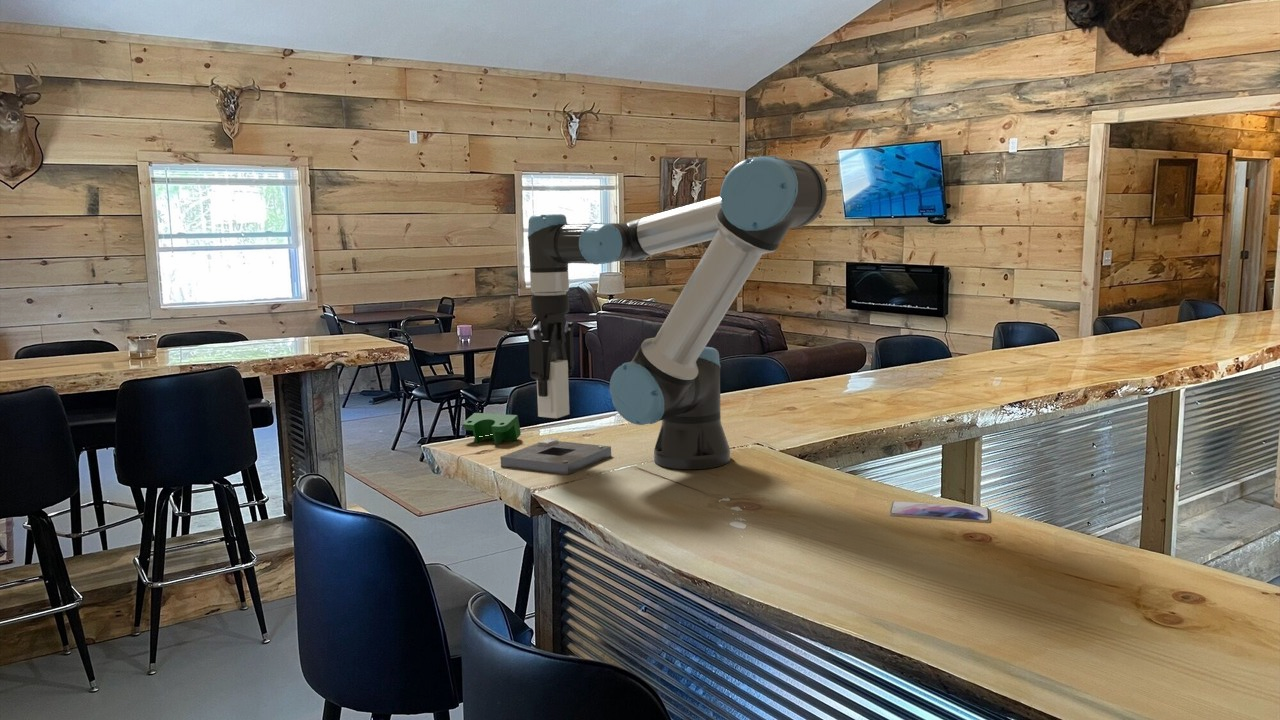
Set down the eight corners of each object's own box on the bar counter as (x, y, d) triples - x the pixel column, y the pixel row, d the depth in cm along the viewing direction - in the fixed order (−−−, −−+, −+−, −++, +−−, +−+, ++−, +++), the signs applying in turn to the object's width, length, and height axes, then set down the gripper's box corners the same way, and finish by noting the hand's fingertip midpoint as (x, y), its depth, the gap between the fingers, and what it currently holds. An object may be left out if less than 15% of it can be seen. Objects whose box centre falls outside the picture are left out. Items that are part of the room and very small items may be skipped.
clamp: (475, 460, 208) (455, 426, 206) (489, 448, 213) (469, 415, 211) (515, 445, 202) (494, 409, 200) (527, 433, 207) (507, 398, 205)
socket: (611, 456, 190) (610, 443, 190) (567, 474, 176) (567, 460, 176) (547, 449, 198) (546, 436, 197) (500, 466, 184) (500, 453, 184)
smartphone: (990, 520, 141) (888, 513, 146) (990, 526, 141) (888, 518, 146) (989, 506, 147) (892, 500, 152) (989, 512, 147) (892, 505, 152)
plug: (569, 414, 187) (567, 350, 185) (556, 418, 183) (554, 353, 181) (551, 412, 189) (548, 349, 187) (538, 416, 185) (535, 352, 183)
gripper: (559, 290, 192) (562, 400, 195) (507, 296, 177) (512, 416, 180) (589, 290, 188) (593, 403, 191) (539, 297, 173) (543, 419, 176)
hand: (553, 409), depth 186 cm, fingers closed on plug, 4 cm apart
